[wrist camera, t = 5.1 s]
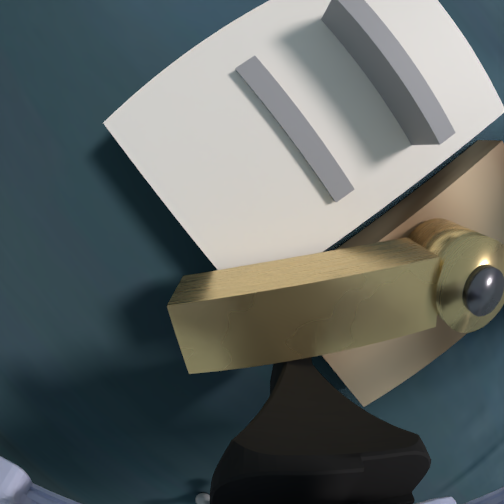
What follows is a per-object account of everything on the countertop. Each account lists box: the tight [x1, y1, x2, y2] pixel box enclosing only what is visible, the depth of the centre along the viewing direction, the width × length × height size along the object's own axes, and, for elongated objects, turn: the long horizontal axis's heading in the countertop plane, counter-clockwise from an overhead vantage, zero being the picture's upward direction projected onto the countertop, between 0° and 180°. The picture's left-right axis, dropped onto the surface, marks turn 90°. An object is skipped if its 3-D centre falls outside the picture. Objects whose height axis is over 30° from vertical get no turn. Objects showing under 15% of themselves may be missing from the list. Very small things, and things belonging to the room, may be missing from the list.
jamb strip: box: [322, 140, 504, 407], centre depth 13 cm, size 12×7×2 cm, turn 127°
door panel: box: [104, 0, 504, 270], centre depth 10 cm, size 14×8×4 cm, turn 127°
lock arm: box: [167, 218, 504, 374], centre depth 10 cm, size 11×3×4 cm, turn 100°
